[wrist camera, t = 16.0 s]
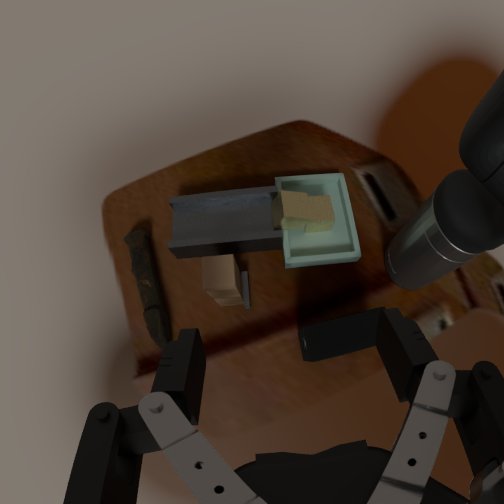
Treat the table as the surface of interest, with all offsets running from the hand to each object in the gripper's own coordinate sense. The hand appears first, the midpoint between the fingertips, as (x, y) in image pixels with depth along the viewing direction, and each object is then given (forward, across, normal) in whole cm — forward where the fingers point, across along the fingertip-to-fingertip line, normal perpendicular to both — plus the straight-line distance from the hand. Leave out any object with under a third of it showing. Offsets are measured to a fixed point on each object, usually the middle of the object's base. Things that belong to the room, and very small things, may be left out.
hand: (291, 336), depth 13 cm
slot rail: (+35, +6, +8) cm, 36 cm away
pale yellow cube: (+33, -3, +7) cm, 34 cm away
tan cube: (+33, -6, +7) cm, 34 cm away
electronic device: (+22, -8, +21) cm, 32 cm away
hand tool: (+29, +17, +15) cm, 37 cm away
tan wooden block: (+28, +6, +16) cm, 32 cm away
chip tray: (+35, -8, +8) cm, 37 cm away
